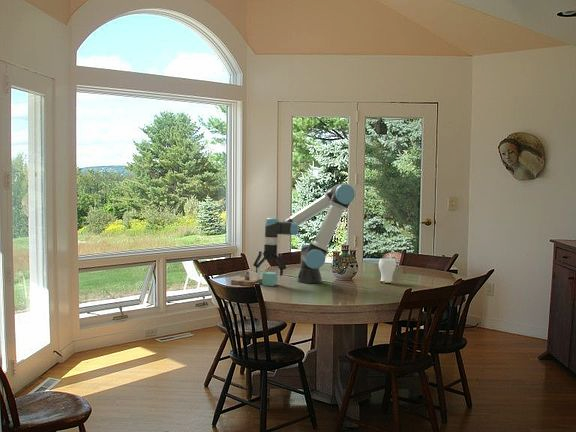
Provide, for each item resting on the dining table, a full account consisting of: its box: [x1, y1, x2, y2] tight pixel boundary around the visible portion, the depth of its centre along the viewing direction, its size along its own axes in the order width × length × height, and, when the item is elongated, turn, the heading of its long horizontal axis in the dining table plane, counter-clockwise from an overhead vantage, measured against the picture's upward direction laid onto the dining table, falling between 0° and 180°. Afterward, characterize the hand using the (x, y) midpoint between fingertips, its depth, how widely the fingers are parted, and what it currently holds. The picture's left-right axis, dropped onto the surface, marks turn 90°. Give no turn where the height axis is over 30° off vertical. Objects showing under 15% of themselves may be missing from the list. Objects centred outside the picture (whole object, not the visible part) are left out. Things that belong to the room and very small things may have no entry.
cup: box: [378, 257, 397, 282], centre depth 391 cm, size 11×11×15 cm
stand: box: [230, 270, 262, 287], centre depth 371 cm, size 14×14×8 cm
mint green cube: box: [261, 271, 278, 287], centre depth 370 cm, size 7×7×7 cm
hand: (268, 279), depth 370 cm, fingers open, 13 cm apart
